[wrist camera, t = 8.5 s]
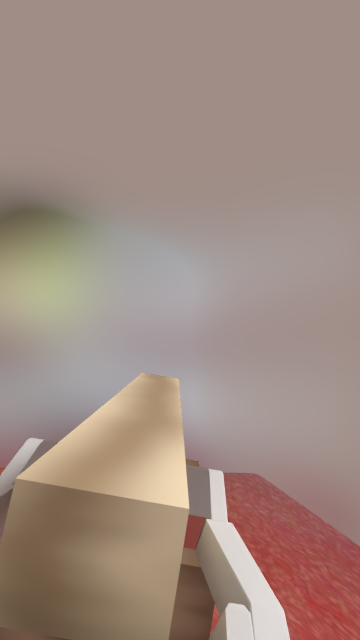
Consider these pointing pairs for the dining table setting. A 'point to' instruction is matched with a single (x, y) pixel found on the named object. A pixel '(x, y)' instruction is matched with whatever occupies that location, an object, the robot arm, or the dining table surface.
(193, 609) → the walnut block
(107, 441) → the oak slat
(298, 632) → the dining table surface
